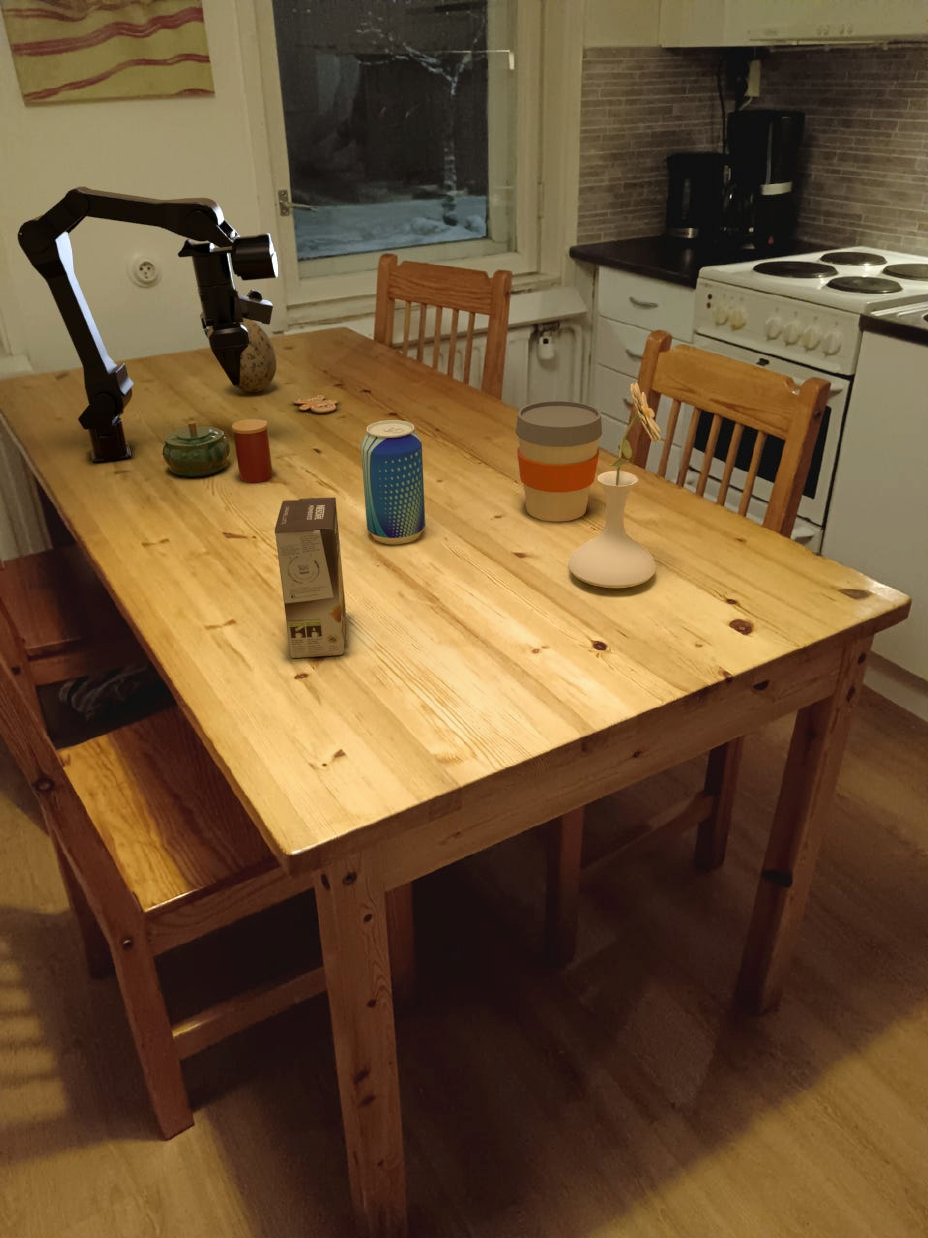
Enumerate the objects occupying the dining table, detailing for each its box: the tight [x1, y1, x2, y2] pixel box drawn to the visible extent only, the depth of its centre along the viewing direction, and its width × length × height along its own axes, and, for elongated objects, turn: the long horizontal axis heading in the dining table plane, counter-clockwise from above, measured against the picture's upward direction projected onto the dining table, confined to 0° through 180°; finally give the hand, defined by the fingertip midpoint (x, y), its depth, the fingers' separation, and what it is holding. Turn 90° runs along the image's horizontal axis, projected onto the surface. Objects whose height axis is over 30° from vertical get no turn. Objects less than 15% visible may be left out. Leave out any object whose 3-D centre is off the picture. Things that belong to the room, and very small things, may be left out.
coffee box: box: [274, 497, 347, 659], centre depth 110 cm, size 9×6×16 cm
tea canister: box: [231, 418, 274, 484], centre depth 157 cm, size 6×6×9 cm
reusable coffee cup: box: [515, 400, 603, 523], centre depth 142 cm, size 13×12×15 cm
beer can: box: [360, 419, 426, 545], centre depth 135 cm, size 8×8×16 cm
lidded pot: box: [162, 421, 231, 478], centre depth 161 cm, size 11×11×8 cm
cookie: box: [293, 395, 338, 414], centre depth 191 cm, size 8×1×10 cm
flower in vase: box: [567, 381, 662, 589], centre depth 121 cm, size 13×11×25 cm
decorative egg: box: [234, 318, 277, 393], centre depth 197 cm, size 11×11×15 cm
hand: (233, 377), depth 164 cm, fingers open, 9 cm apart
